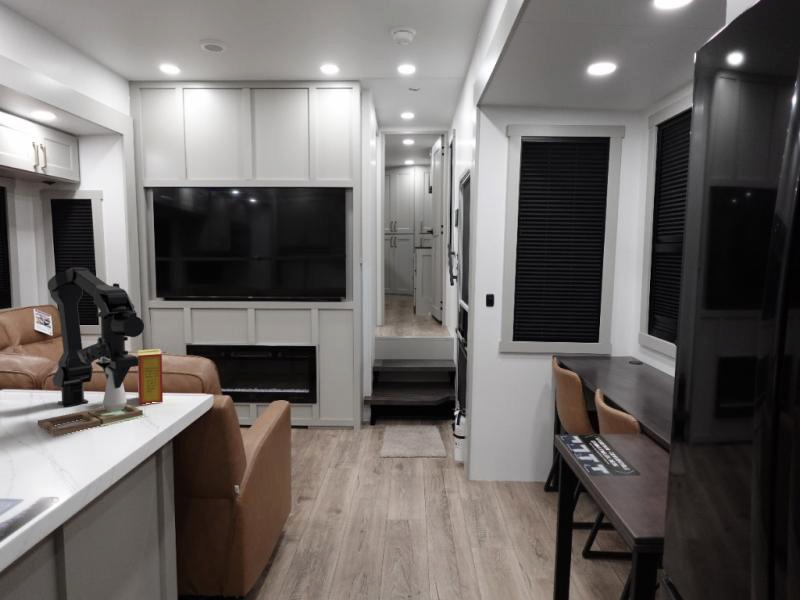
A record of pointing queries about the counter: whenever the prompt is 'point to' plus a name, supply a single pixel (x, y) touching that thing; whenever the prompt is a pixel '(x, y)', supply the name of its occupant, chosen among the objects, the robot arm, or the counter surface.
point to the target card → (118, 414)
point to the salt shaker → (113, 395)
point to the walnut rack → (92, 418)
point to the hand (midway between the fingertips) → (114, 387)
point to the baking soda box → (150, 376)
